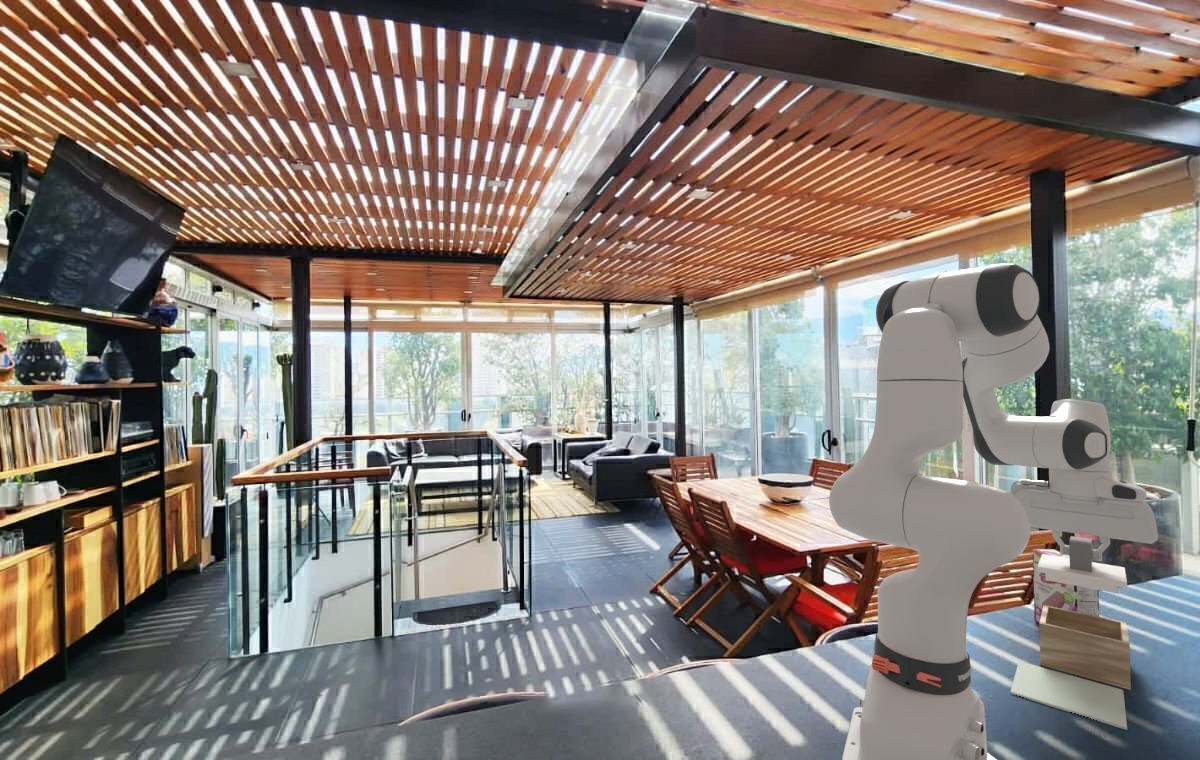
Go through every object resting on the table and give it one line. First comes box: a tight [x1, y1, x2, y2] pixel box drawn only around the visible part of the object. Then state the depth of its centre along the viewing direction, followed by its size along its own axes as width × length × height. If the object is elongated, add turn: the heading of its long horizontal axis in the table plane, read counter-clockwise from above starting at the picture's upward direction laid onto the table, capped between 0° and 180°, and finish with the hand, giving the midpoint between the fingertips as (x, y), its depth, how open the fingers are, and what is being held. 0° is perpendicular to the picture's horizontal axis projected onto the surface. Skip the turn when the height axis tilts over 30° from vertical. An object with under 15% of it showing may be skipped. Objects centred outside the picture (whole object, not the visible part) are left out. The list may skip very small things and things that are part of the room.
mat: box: [1010, 660, 1128, 731], centre depth 89 cm, size 14×14×1 cm
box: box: [1038, 605, 1132, 691], centre depth 99 cm, size 12×12×8 cm
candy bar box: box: [1032, 548, 1100, 624], centre depth 112 cm, size 11×5×16 cm, turn 179°
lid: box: [1037, 536, 1128, 595], centre depth 99 cm, size 12×12×8 cm
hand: (1080, 557), depth 99 cm, fingers closed on lid, 3 cm apart
